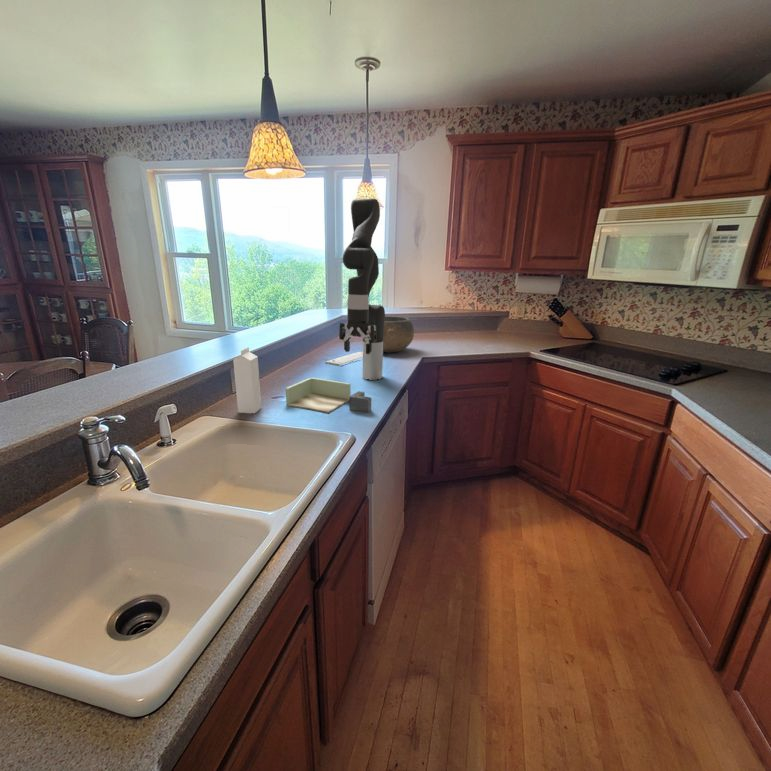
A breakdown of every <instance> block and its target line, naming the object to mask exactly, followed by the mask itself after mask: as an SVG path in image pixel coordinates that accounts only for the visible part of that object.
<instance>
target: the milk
mask: <svg viewBox="0 0 771 771" xmlns="http://www.w3.org/2000/svg"><path fill="white" fill-rule="evenodd" d="M258 357H259V356H257V355H256V354H254V353H252V352H250V349H249V347H246V348H244V349H241V351H240V355H239V356H238V357H236V358H234V359H233V360H232V361H233V371H234V381H235V392H236V402H237V404H236V405H237V413H238V414H252V413H253V414H256V413H257V412H258V411H259V410H261V408H262V397H261V396H262V395H261V386H260V371H259V360H258Z"/></svg>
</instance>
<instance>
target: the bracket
mask: <svg viewBox="0 0 771 771" xmlns="http://www.w3.org/2000/svg"><path fill="white" fill-rule="evenodd" d="M348 404H349V409H348V410H350V411H355V412H361V413H365V414H369V413H370V412H372V397H369V396H365V391H356V392H355V393H353V394H351V396H349V401H348Z"/></svg>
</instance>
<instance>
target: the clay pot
mask: <svg viewBox="0 0 771 771" xmlns="http://www.w3.org/2000/svg"><path fill="white" fill-rule="evenodd" d="M367 332H368V333H370V331H369V329H368V331H367ZM414 337H415V329H414V324H413V323H412V320H410V318H409V317H404V316H392V315H389V316H386V315H385V322H384V336H383V353H384V352H388V353H398V352H400V351H403V350H405V349H406V348H407V347H409V346H410V345H411V343H412V341H413V340H414Z"/></svg>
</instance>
